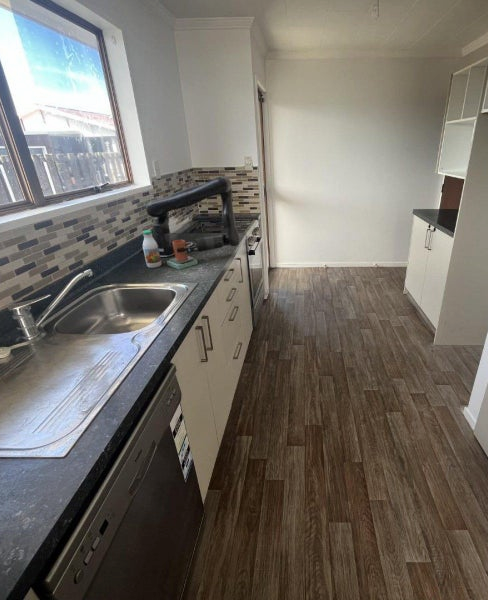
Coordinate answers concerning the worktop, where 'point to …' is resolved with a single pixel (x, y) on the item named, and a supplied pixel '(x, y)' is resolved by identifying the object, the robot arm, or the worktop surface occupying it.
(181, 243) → the cup
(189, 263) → the scale
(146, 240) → the milk bottle
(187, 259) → the scale platform
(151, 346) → the worktop surface
